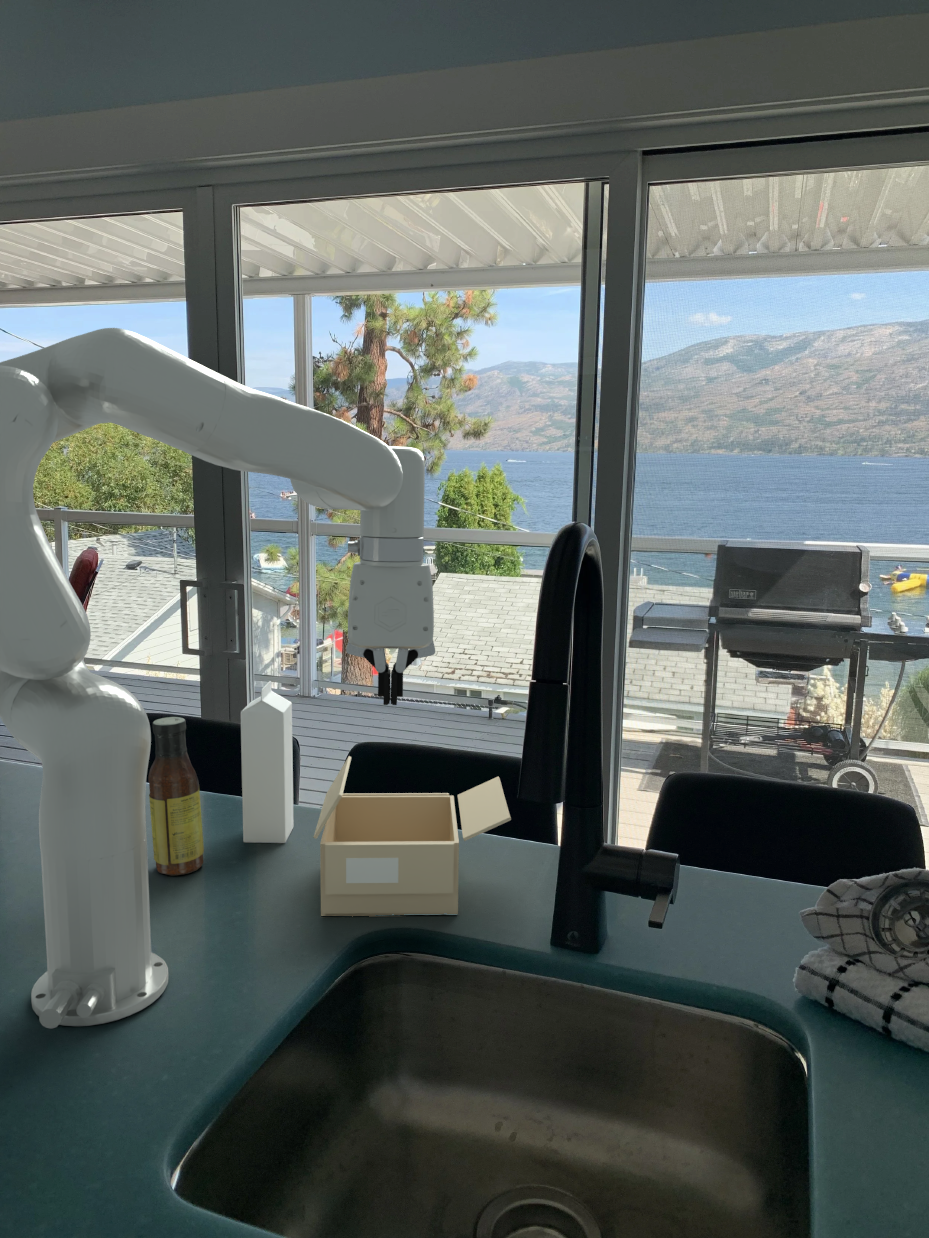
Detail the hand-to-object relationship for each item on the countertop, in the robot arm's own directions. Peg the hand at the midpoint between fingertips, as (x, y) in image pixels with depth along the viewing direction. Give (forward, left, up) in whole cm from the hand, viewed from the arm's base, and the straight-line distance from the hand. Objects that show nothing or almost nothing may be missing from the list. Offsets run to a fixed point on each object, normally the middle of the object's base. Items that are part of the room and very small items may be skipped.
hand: (390, 702), depth 110 cm
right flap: (0, -11, -13) cm, 17 cm away
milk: (+17, +18, -24) cm, 34 cm away
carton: (0, 0, -24) cm, 24 cm away
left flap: (0, +7, -12) cm, 14 cm away
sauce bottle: (+6, +28, -24) cm, 37 cm away
